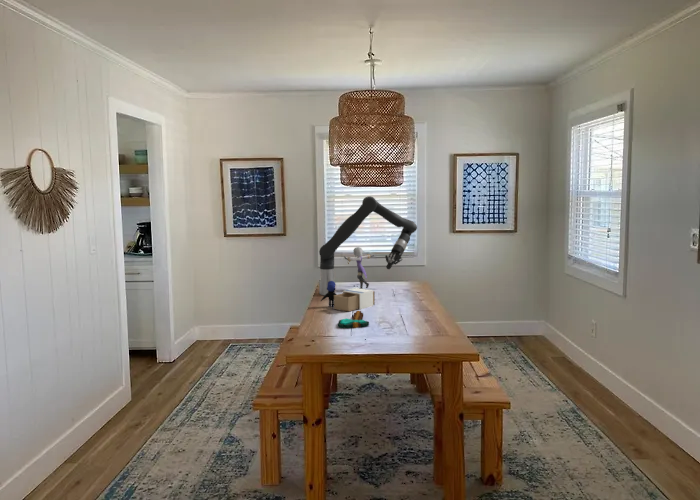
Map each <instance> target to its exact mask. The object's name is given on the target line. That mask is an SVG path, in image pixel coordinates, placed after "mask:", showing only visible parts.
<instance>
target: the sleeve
mask: <svg viewBox="0 0 700 500" xmlns="http://www.w3.org/2000/svg"><path fill="white" fill-rule="evenodd" d="M373 291H374V290H373V289H368V288H366V289H365V288H363V289H360V287H353V288H348V289H345V290H342V293H353V294H359V309H358V311H361V310H364V309H367V308H368V309H369V308H371V307H374V305H373Z"/></svg>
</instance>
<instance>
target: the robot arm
mask: <svg viewBox="0 0 700 500" xmlns="http://www.w3.org/2000/svg"><path fill="white" fill-rule="evenodd" d="M372 213H375V214H377V215H379V216H380V217H382V218H383V219H384V220H385V221H387V222H389V224H392V225H393V226H395V227H397V228H402V229H401V232H400V235H399V237H397V240H396V241H395V243H394V244H393V246H392V248H391V249H390V253H388V255H385V256H384V257H385V261H386V263H387V264H386V267H385V268H386V269H387V270H390V269H391V268H392V267H393V266H394V265H398V263H400V262H402V261H403V258H402V256H403V255H404V252H405V250H406V248H407V246H408V244H409V242H410V240H411V236H412V234H413V233H415V232H416V231H417V229H418V226H417V223H415V222H414V221H412V220H410V219H407V218H405V217H402V216H400V215H399V214H397V213H395V212H394V211H392V210H391V209H388V208H387V207H386V206H384V205H382V204H381V203H380V202H379V201H378V200H376V198H374V197H373V196H365V197H364V198H363V200H362V204H361V205H360V206H359V208H358V209H357V210H356V211H355V212H354V213H352V214H350V216H349V217H348V218H347V219H345V220H344V221H343V222H342V224H341V225H340V226H339V227H338V229H336V231H335V233H334V234H333V236H332V237H331V238H330V239H329V240H328V241H327V242H326V243H324V244H323V245H322V246H321V247H320V248H319V251H318V252H319V257H320V261H319V274H320V275H319V278H320V279H319V282H318V283H319V287H318V288H319V290H318V291H319V295H321V296H325V294H327V293H328V290H327V286H328V285H327V284H328V282H329V281H334V282H335V252H336V251H337V249H338V248H340V246H341V245H342V244H343V243H345V242H346V240H348V238H350V237H351V236H352V235H353V234H354V233H355V232H356V230H357V229H358V228H359V227H360V226H361V224H362V223H363V222H364V221H365V219H366V218H367V217H368V216H369V215H370V214H372Z"/></svg>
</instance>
